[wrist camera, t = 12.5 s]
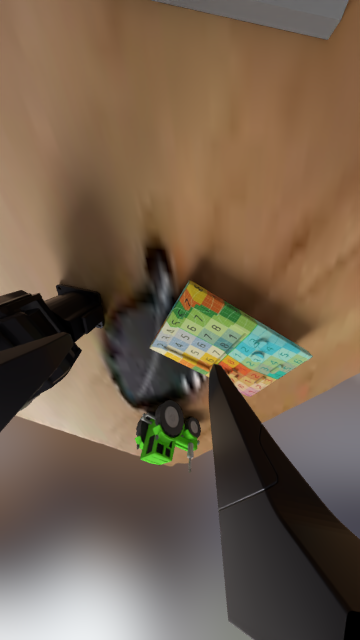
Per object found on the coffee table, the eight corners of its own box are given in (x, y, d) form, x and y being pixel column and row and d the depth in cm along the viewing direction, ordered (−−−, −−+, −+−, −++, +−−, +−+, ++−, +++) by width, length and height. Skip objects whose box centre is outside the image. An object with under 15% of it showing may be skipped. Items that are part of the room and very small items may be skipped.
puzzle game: (252, 401, 24) (147, 352, 20) (244, 378, 28) (155, 333, 25) (318, 361, 18) (188, 284, 15) (295, 339, 22) (190, 275, 19)
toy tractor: (183, 431, 42) (179, 480, 33) (136, 408, 38) (119, 458, 29) (208, 419, 37) (212, 473, 28) (158, 392, 33) (145, 445, 24)
